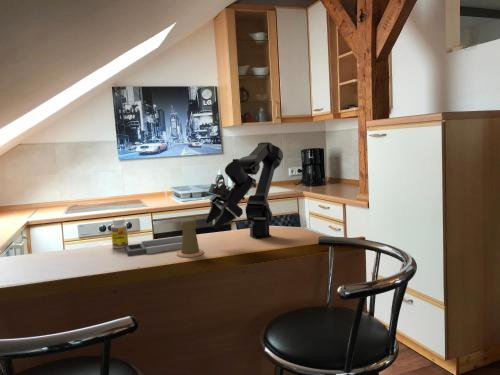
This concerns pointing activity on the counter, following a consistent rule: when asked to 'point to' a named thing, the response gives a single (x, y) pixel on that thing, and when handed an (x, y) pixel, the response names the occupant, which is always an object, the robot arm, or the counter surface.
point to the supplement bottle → (119, 233)
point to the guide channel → (163, 247)
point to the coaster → (190, 254)
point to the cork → (189, 237)
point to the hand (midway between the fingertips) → (210, 225)
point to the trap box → (135, 249)
